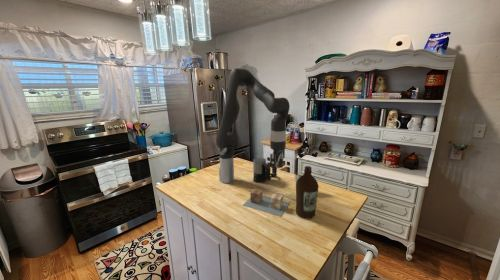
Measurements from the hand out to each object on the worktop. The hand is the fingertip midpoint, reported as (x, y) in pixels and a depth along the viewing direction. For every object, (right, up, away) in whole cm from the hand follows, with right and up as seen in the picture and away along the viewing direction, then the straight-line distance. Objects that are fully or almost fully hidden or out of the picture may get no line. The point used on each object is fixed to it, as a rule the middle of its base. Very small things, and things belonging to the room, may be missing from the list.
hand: (277, 170), depth 106 cm
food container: (+18, -16, +21) cm, 32 cm away
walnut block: (-10, -19, +11) cm, 24 cm away
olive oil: (+14, -22, -1) cm, 26 cm away
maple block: (0, -20, +5) cm, 21 cm away
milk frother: (-4, -12, +39) cm, 41 cm away
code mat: (-5, -20, +8) cm, 22 cm away
